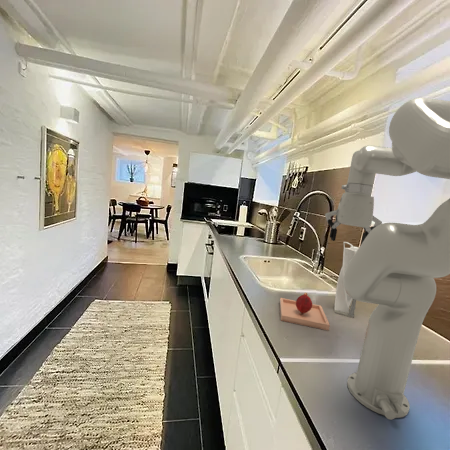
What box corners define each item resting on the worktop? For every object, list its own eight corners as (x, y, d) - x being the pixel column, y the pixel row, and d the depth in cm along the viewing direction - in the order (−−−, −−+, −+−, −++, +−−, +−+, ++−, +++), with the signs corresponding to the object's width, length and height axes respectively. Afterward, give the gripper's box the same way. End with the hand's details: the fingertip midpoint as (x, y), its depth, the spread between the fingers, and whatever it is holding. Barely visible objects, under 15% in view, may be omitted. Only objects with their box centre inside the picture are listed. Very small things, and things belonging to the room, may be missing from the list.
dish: (328, 330, 90) (329, 325, 90) (280, 320, 93) (281, 315, 93) (320, 310, 106) (321, 305, 106) (279, 302, 108) (280, 297, 108)
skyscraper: (330, 311, 106) (344, 243, 102) (330, 304, 114) (343, 240, 110) (353, 317, 103) (368, 247, 100) (351, 309, 111) (365, 244, 107)
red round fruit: (311, 318, 96) (315, 297, 95) (294, 315, 97) (298, 294, 96) (309, 311, 102) (313, 291, 100) (293, 308, 102) (297, 288, 101)
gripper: (333, 186, 83) (322, 240, 86) (392, 194, 81) (380, 249, 83) (328, 187, 91) (318, 236, 93) (382, 194, 88) (371, 244, 90)
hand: (348, 242), depth 88 cm, fingers open, 9 cm apart
